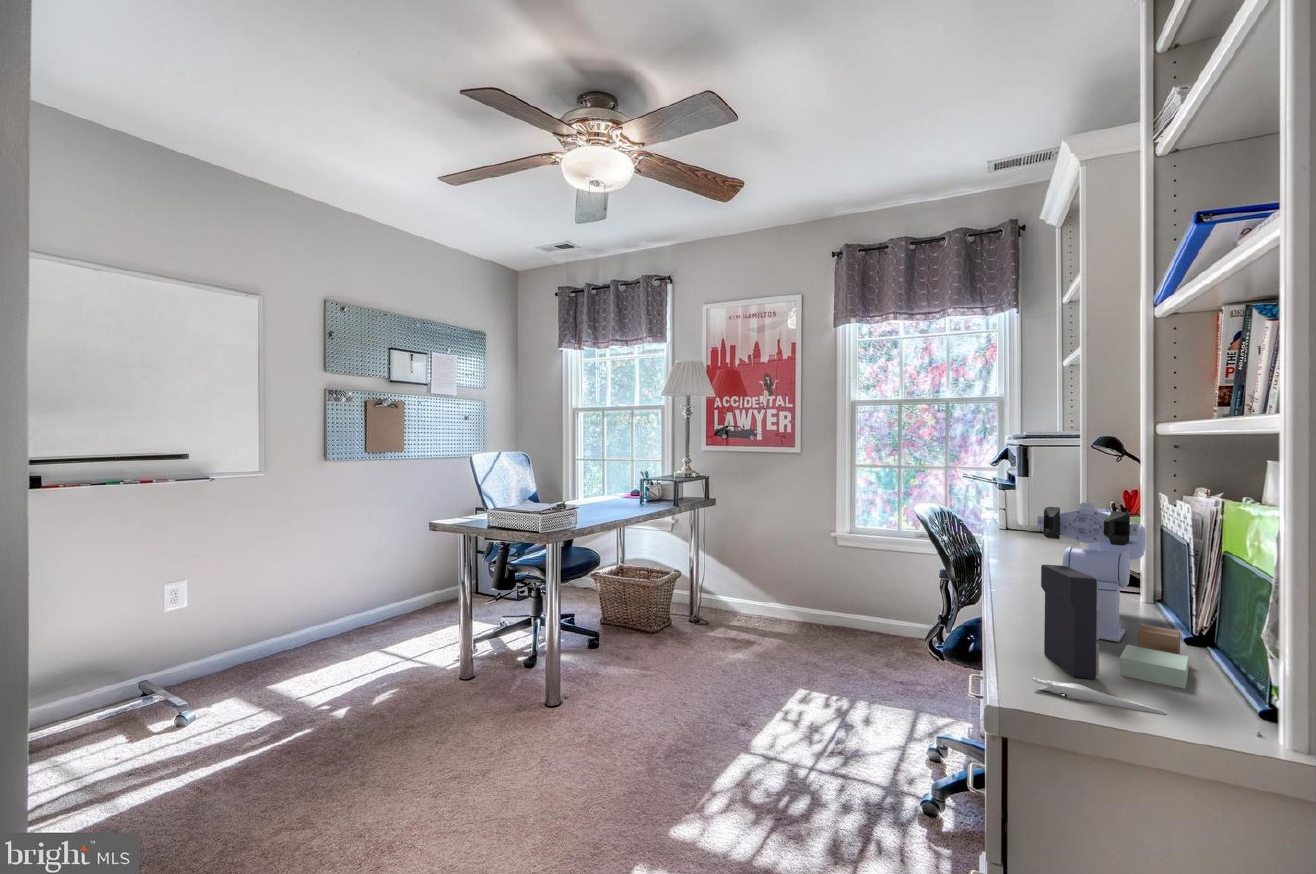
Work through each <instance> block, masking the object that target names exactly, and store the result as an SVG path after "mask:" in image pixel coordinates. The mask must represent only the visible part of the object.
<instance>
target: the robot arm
mask: <svg viewBox="0 0 1316 874" xmlns="http://www.w3.org/2000/svg"><path fill="white" fill-rule="evenodd" d="M1036 518H1037V520H1036V522H1037V523H1036V525H1037V526H1036V527H1037V528H1042V529H1043V531H1042V532H1043V533H1042V534H1043V536H1044V537H1045V538H1046V539H1052V540H1061V535H1063V536H1065V537H1067V538H1070V539H1073V540H1075V541H1077V542H1078V543H1079V542H1080V543H1083V544H1087V548H1075V547H1072V546H1068V547H1067V548H1066V549H1064V551H1063V556H1062V566H1067V567H1069V568H1072V569H1074V570H1077V571H1079V572H1081V573H1084V574H1086V575H1089V576H1091V577H1094V578H1096V580H1097V581H1098V605H1097V608H1098V609H1099V640H1105V641H1111V642H1117V643H1119V642H1120V641H1121V639H1122V638H1123V636H1124V635H1125V633H1126V629H1125V628H1120V603H1121V602H1120V599H1121V598H1120V597H1121V596H1120V594H1121V593H1120V589H1121V588H1125V587H1127V586H1128V585H1129V583H1130V575H1131V562H1132V561H1133V560H1138V559H1141V558H1143V556H1144V555H1145V552H1146V544H1147V543H1146V541H1147V537H1146V536H1147V535H1146V534H1147V533H1146V527H1144V526H1143V525H1142V524H1139V523H1138V522H1135V521H1131V519H1130V518H1131V517H1130V514H1128V513H1127V512H1125V511H1115V510H1110V509H1104V508H1103V509H1102V508H1100V509H1099V508H1098V509H1097V510H1096V505H1095V504H1094V503H1093V502H1084V501H1083V502H1081V503H1080V505H1079V508H1078V509H1077V508H1076V509H1073V510H1069V511H1063V512H1061V507H1057V506H1047V507H1045V508H1044V510H1043V515H1042V516H1041V515H1037V517H1036Z"/></svg>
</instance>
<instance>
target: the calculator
mask: <svg viewBox="0 0 1316 874" xmlns="http://www.w3.org/2000/svg"><path fill="white" fill-rule="evenodd" d="M1040 566H1041V567H1040V575H1041V576H1040V586H1041V588H1042V590H1043V592H1044V635H1043V636H1044V639H1043V641H1044V642H1043V643H1044V645H1043V646H1044V647H1043V650H1044V651H1043V652H1044V656H1046V657H1047V658H1048V659H1050V661H1052V662H1053V663H1055V664H1056V665H1057V666H1059V667H1060V668H1061V669H1062V670H1064V672H1066V673H1067V674H1069V675H1070V676H1071V677H1073V678H1075V679H1085V680H1086V679H1089V680H1095V679H1096V678H1097V676H1099V674H1100V673H1099V671H1100V668H1099V667H1100V645H1099V643H1098V642H1097V641H1099V640H1100V639H1099V609H1098V608H1097V605H1098V581H1097V580H1096V578H1094V577H1091V576H1089V575H1086V574H1084V573H1081V572H1079V571H1077V570H1074V569H1072V568H1069V567H1067V566H1063V565H1061V564H1060V565H1059V564H1057V565H1056V564H1042V565H1040Z"/></svg>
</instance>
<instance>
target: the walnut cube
mask: <svg viewBox="0 0 1316 874" xmlns="http://www.w3.org/2000/svg"><path fill="white" fill-rule="evenodd" d="M1137 636H1138V637H1137V638H1138V639H1137V641H1138V642H1137V644H1138V645H1137V647H1142V648H1148V649H1153V650H1158V651H1164V652H1169V653H1174V654H1180V655H1181V630H1178V629H1173V628H1172V629H1171V628H1165V627H1159V626H1155V625H1149V624H1140V627H1139V628H1138V632H1137Z"/></svg>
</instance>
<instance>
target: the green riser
mask: <svg viewBox="0 0 1316 874" xmlns="http://www.w3.org/2000/svg"><path fill="white" fill-rule="evenodd" d="M1119 675H1120V676H1123V677H1127V678H1133V679H1137V680H1143V681H1146V682H1151V683H1156V684H1160V685H1165V686H1169V687H1170V686H1171V687H1173V688H1174V687H1175V688H1179V689H1184V690H1186V688H1187V684H1188V683H1187V682H1188V676H1189V655H1184V654H1181V653H1180V654H1174V653H1169V652H1164V651H1158V650H1153V649H1148V648H1142V647H1138V645H1131V644H1126V645H1125V648H1124V649H1123V651H1122V653H1121V654H1120V657H1119Z"/></svg>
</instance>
